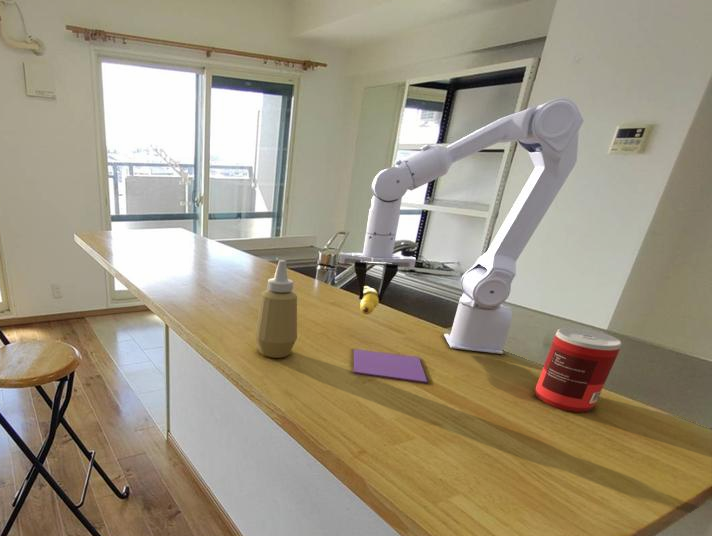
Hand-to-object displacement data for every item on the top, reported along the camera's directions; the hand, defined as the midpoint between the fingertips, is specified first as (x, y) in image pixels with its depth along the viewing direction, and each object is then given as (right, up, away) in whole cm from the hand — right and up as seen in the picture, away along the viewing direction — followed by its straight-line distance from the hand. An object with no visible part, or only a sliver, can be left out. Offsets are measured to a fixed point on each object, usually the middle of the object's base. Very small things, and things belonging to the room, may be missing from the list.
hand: (369, 299), depth 91 cm
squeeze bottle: (-21, -12, -7) cm, 26 cm away
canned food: (+22, -20, -23) cm, 37 cm away
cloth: (-1, -14, -12) cm, 18 cm away
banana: (0, -1, +1) cm, 1 cm away
